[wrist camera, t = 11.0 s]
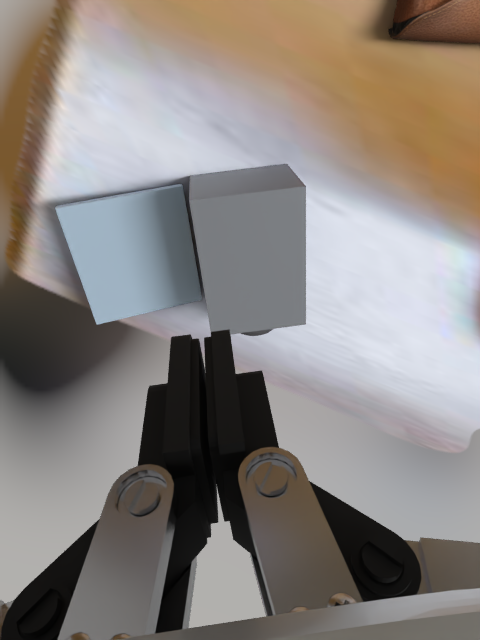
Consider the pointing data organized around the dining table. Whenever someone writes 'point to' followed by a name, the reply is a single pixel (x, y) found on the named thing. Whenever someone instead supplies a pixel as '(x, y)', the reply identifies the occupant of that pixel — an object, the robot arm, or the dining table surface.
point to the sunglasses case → (437, 20)
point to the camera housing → (251, 247)
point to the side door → (132, 251)
